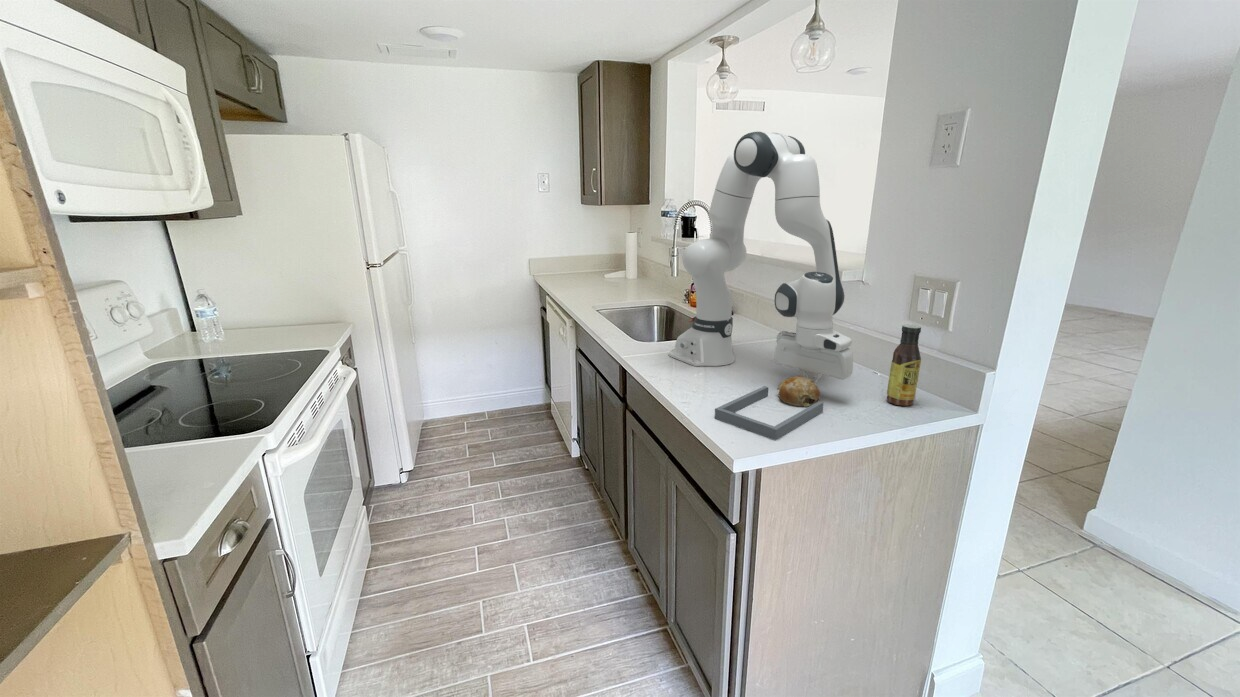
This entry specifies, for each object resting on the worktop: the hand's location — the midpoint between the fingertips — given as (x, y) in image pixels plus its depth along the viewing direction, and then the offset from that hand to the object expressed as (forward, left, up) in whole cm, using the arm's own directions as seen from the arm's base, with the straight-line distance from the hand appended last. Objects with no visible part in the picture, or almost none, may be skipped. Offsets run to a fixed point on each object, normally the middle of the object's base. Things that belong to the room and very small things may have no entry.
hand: (809, 386), depth 135 cm
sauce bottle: (+19, +10, -2) cm, 22 cm away
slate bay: (0, -19, -2) cm, 19 cm away
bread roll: (0, -6, -2) cm, 6 cm away
